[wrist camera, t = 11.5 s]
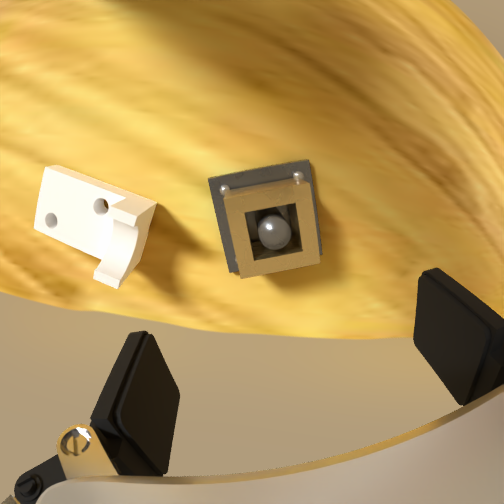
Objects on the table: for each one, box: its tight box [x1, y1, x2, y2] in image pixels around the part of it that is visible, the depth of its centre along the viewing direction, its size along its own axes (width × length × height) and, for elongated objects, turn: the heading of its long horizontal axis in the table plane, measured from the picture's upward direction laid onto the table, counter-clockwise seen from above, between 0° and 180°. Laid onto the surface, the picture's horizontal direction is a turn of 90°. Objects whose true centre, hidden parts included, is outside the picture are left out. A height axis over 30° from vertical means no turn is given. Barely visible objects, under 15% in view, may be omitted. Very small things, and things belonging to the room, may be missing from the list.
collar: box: [223, 177, 320, 279], centre depth 27 cm, size 7×7×5 cm
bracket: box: [34, 165, 157, 289], centre depth 27 cm, size 13×7×8 cm, turn 67°
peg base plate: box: [208, 159, 322, 273], centre depth 28 cm, size 10×10×7 cm
